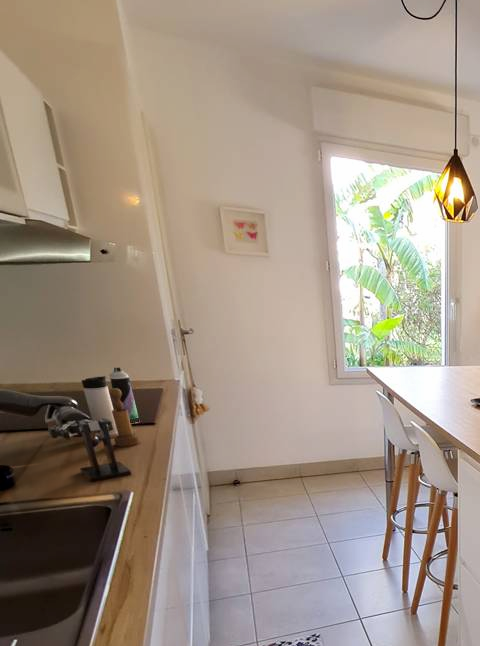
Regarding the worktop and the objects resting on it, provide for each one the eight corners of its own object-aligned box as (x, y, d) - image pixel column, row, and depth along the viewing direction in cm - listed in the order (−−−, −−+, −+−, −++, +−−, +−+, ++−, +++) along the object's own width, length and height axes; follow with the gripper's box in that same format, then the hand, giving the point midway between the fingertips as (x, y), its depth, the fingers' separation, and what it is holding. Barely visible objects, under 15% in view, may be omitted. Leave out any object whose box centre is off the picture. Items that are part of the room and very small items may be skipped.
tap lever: (84, 450, 154) (80, 438, 154) (100, 448, 157) (95, 436, 157) (88, 433, 144) (83, 420, 144) (104, 431, 147) (100, 418, 147)
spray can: (123, 425, 197) (109, 369, 190) (119, 422, 201) (105, 367, 193) (141, 422, 201) (128, 367, 194) (137, 420, 204) (124, 365, 197)
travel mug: (114, 438, 182) (99, 378, 174) (92, 438, 181) (75, 378, 173) (124, 433, 187) (110, 374, 180) (103, 433, 186) (87, 374, 179)
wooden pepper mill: (112, 444, 176) (97, 388, 170) (135, 439, 181) (122, 385, 175) (120, 448, 173) (106, 391, 166) (144, 443, 178) (130, 388, 171)
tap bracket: (81, 472, 152) (66, 420, 146) (120, 465, 158) (107, 415, 153) (91, 482, 145) (75, 428, 140) (131, 474, 151) (118, 422, 146)
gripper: (39, 413, 159) (50, 424, 149) (99, 406, 169) (114, 416, 159) (46, 438, 161) (58, 450, 152) (105, 430, 171) (120, 441, 162)
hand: (87, 433), depth 155 cm, fingers open, 8 cm apart
